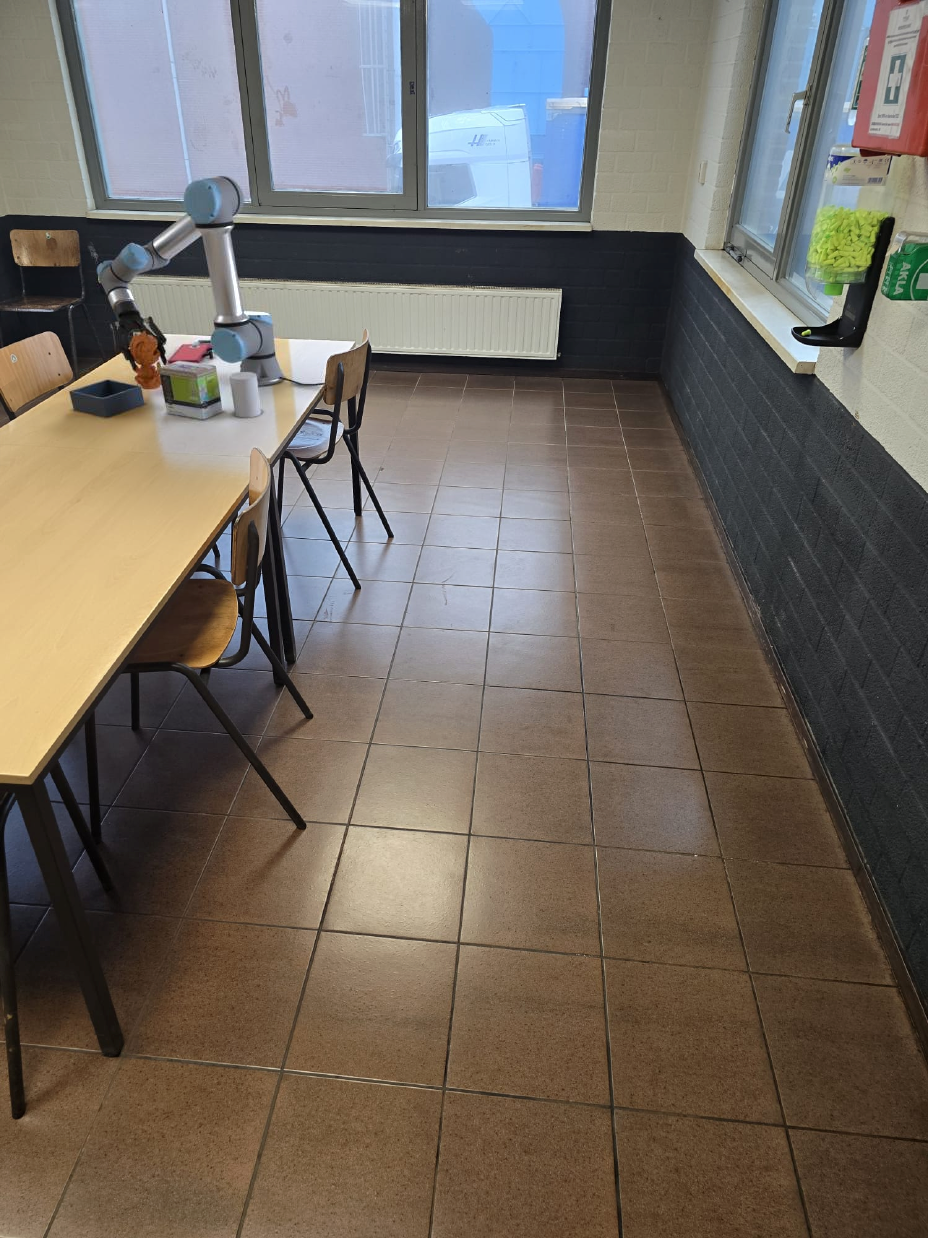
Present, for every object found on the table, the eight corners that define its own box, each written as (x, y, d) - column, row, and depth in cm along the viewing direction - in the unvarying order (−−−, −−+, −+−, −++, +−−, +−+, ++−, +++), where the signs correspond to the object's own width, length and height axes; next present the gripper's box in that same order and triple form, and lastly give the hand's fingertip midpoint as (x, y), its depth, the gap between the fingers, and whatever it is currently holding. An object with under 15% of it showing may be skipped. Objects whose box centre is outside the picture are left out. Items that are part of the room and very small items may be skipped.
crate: (144, 404, 273) (141, 386, 270) (107, 417, 262) (102, 398, 259) (111, 396, 280) (107, 378, 276) (73, 409, 268) (68, 391, 265)
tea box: (224, 411, 268) (217, 364, 260) (203, 420, 261) (195, 373, 253) (186, 404, 274) (179, 358, 266) (165, 413, 266) (156, 366, 258)
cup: (264, 409, 270) (259, 372, 264) (256, 417, 263) (251, 379, 257) (239, 408, 271) (234, 371, 264) (231, 416, 264) (225, 378, 258)
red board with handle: (224, 341, 339) (187, 342, 339) (223, 334, 338) (186, 335, 337) (208, 363, 314) (168, 364, 314) (207, 355, 313) (166, 356, 312)
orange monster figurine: (175, 383, 286) (166, 329, 276) (155, 393, 277) (145, 337, 267) (147, 380, 289) (137, 326, 279) (127, 389, 280) (116, 334, 270)
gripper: (155, 309, 288) (181, 366, 286) (89, 317, 276) (115, 376, 274) (158, 295, 281) (184, 353, 279) (91, 303, 270) (117, 364, 268)
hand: (150, 365), depth 277 cm, fingers closed on orange monster figurine, 9 cm apart
